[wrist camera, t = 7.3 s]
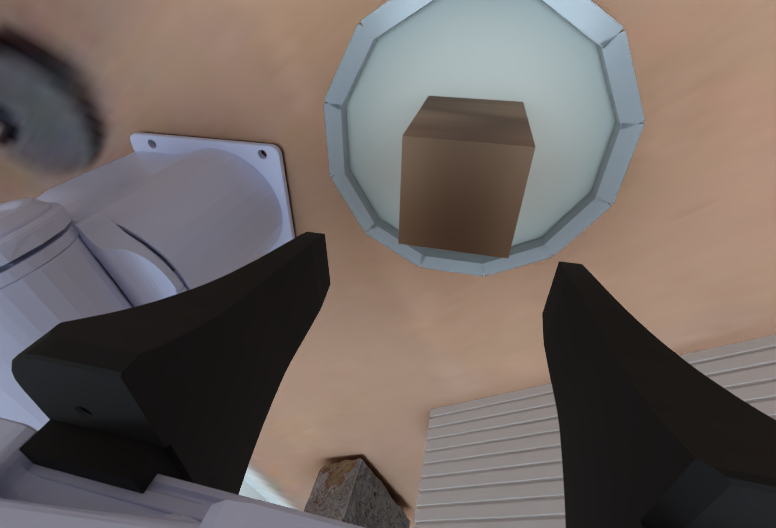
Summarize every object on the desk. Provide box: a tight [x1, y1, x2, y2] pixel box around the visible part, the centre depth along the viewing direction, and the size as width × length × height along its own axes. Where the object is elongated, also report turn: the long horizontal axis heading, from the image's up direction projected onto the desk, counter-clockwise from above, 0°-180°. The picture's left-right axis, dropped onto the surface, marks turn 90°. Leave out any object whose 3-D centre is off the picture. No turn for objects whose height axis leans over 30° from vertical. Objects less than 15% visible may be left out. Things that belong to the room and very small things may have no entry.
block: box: [398, 96, 535, 259], centre depth 15 cm, size 4×4×6 cm
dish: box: [324, 0, 645, 276], centre depth 18 cm, size 13×13×2 cm
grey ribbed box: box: [413, 335, 776, 528], centre depth 22 cm, size 32×11×11 cm, turn 126°
